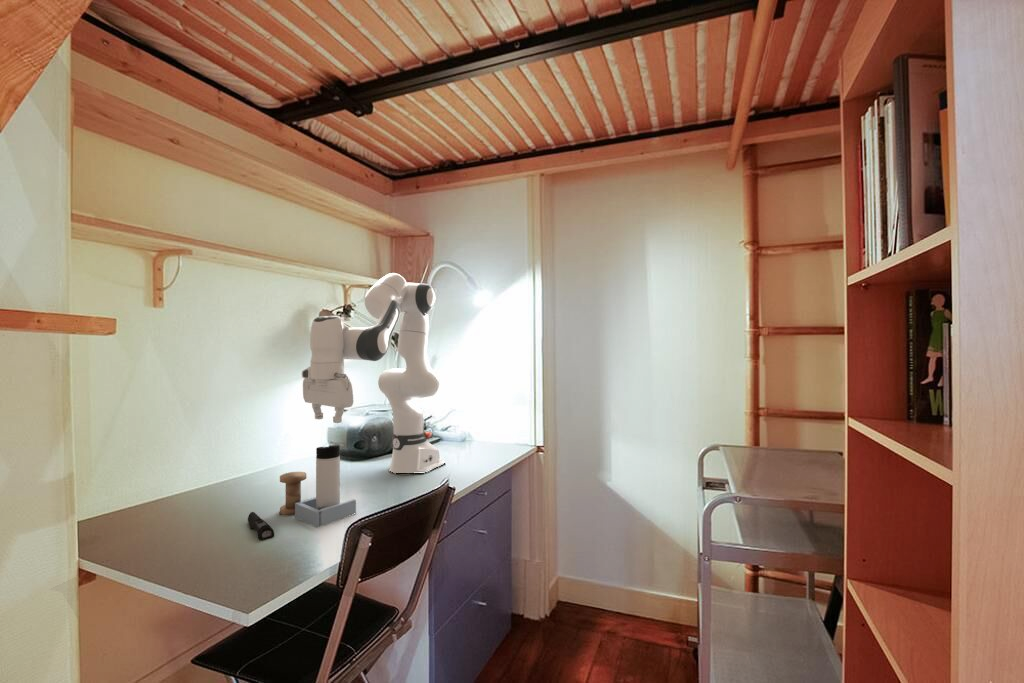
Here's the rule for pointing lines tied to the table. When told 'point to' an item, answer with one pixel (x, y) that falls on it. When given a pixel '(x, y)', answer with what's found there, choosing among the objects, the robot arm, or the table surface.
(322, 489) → the travel mug
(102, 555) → the table surface
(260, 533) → the electric trimmer
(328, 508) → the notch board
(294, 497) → the bobbin
